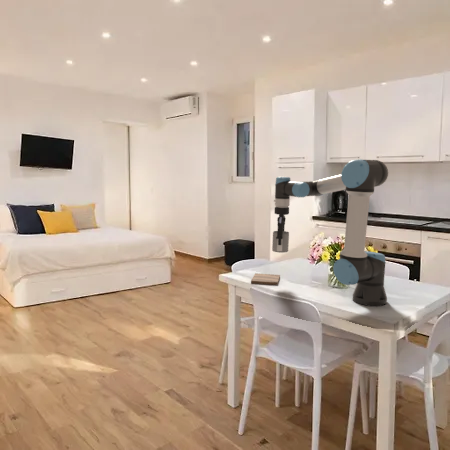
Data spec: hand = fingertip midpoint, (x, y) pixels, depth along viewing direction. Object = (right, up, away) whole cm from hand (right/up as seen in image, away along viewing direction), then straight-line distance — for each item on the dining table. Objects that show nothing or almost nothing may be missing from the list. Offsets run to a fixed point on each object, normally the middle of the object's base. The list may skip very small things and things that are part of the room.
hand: (280, 249), depth 226 cm
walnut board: (-7, -17, +7) cm, 20 cm away
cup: (0, -1, 0) cm, 1 cm away
